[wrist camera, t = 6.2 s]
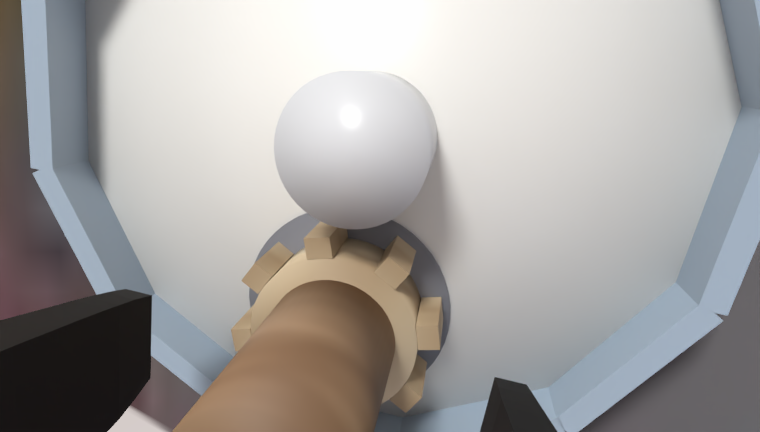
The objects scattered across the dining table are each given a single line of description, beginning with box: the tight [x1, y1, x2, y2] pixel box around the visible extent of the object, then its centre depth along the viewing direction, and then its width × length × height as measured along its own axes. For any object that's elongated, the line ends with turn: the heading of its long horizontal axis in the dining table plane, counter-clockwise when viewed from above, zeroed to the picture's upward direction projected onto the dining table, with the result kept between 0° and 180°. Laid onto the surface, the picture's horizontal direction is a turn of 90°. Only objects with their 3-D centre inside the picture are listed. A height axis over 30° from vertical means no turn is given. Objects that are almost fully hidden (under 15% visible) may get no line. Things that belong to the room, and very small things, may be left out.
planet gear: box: [172, 221, 443, 432], centre depth 10 cm, size 5×5×6 cm
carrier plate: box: [21, 0, 760, 432], centre depth 11 cm, size 17×17×4 cm
